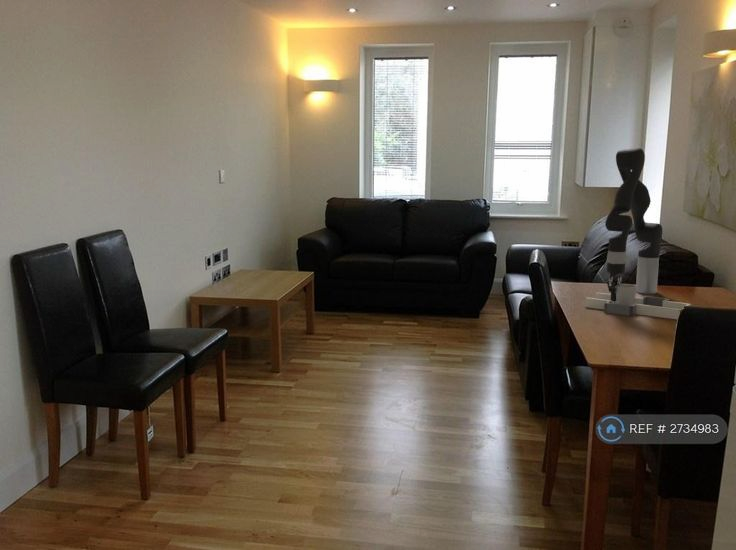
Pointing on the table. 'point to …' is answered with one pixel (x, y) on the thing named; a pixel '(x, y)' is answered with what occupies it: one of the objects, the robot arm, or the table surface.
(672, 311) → the box
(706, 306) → the table surface
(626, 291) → the cup
